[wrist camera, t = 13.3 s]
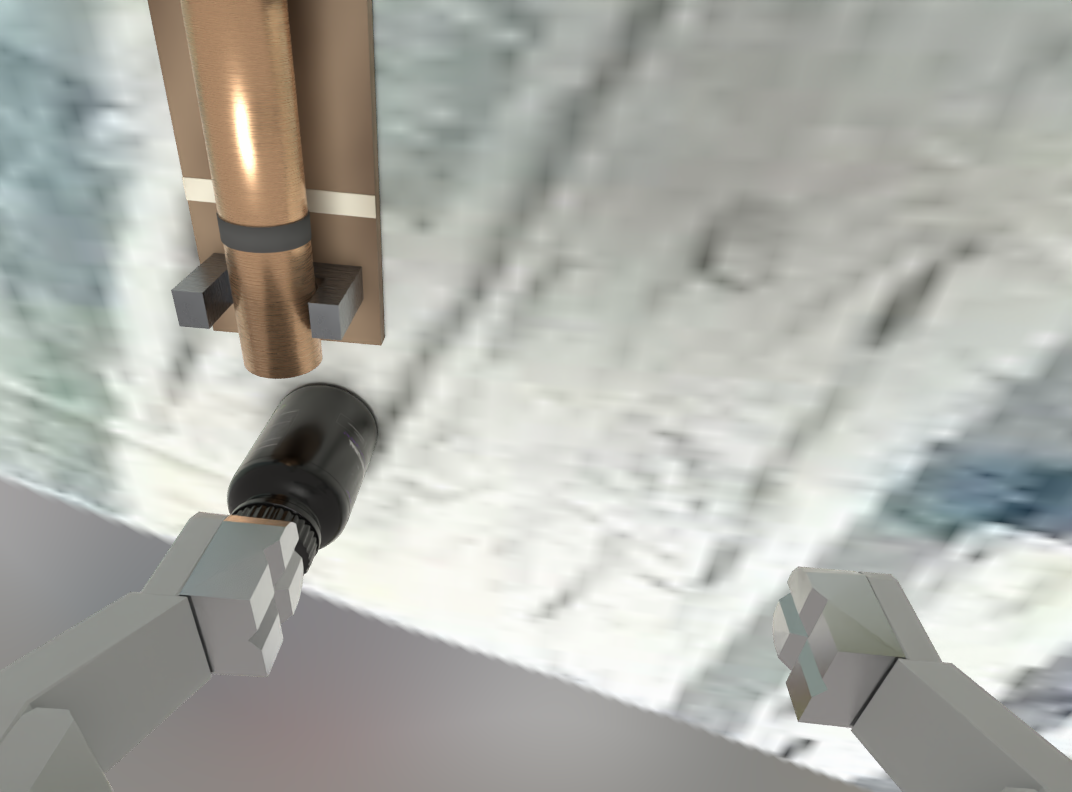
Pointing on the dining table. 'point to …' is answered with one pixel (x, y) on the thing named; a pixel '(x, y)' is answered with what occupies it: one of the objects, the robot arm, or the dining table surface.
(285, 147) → the copper tube
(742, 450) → the dining table surface
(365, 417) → the supplement bottle
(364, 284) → the cradle board
